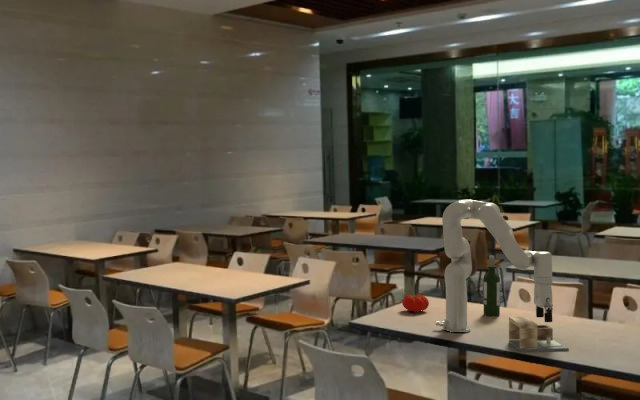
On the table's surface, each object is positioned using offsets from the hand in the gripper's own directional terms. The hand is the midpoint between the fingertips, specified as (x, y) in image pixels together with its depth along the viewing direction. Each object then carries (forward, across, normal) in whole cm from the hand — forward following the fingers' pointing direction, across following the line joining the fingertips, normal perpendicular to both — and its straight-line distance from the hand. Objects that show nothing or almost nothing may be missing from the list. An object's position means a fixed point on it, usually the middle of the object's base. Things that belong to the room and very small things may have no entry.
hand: (544, 319), depth 289 cm
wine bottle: (+8, -48, -9) cm, 50 cm away
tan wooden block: (+7, +11, -13) cm, 18 cm away
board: (+9, +10, -7) cm, 15 cm away
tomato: (+7, -59, -46) cm, 75 cm away
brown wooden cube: (+9, 0, -1) cm, 9 cm away
